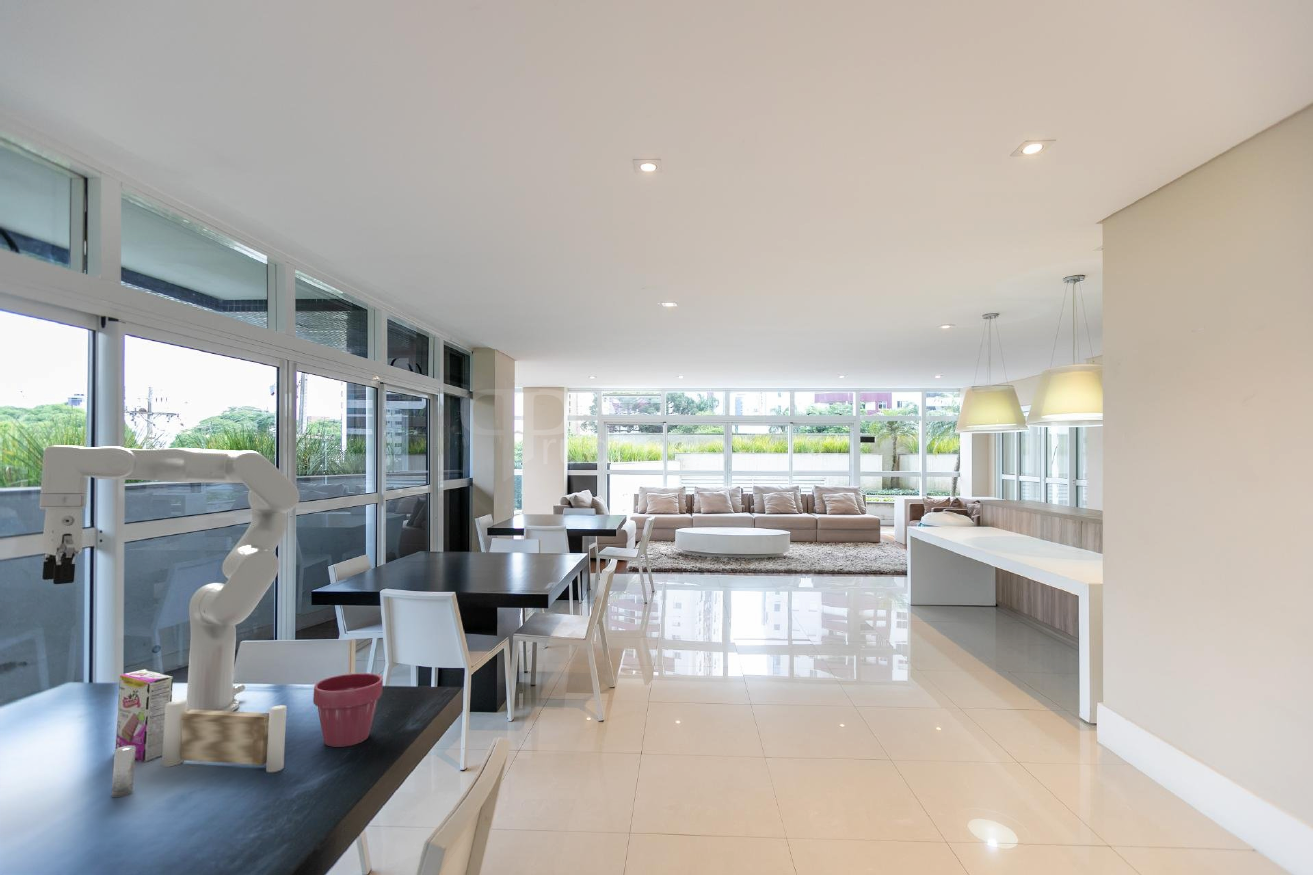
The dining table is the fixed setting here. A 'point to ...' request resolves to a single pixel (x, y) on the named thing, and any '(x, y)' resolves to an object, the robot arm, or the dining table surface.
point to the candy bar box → (143, 712)
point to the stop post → (123, 771)
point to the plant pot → (347, 707)
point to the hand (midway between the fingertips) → (57, 581)
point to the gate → (225, 736)
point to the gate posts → (174, 735)
